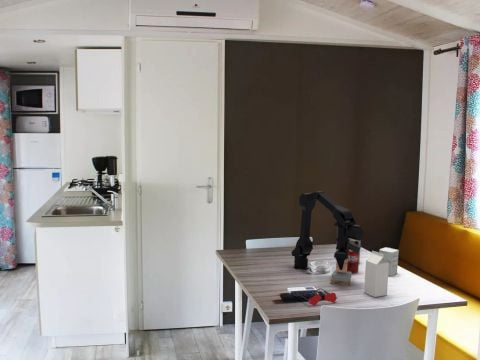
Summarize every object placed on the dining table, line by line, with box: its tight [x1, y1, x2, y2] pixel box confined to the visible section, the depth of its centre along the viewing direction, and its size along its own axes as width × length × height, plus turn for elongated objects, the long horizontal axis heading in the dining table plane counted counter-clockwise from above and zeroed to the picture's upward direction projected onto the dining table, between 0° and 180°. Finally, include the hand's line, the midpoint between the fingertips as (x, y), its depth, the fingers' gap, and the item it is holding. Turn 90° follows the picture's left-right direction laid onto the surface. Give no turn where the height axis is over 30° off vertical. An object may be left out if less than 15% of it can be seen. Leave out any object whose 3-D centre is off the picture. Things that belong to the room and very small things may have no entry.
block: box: [335, 261, 347, 272], centre depth 238 cm, size 5×5×4 cm
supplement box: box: [378, 246, 400, 277], centre depth 253 cm, size 7×7×13 cm
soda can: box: [345, 250, 360, 275], centre depth 255 cm, size 7×7×12 cm
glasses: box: [295, 288, 338, 307], centre depth 216 cm, size 14×16×5 cm
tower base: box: [330, 276, 352, 287], centre depth 239 cm, size 9×9×2 cm
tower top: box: [330, 269, 352, 282], centre depth 239 cm, size 8×8×2 cm
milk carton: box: [363, 250, 389, 298], centre depth 223 cm, size 7×7×19 cm
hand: (341, 268), depth 238 cm, fingers closed on block, 5 cm apart
